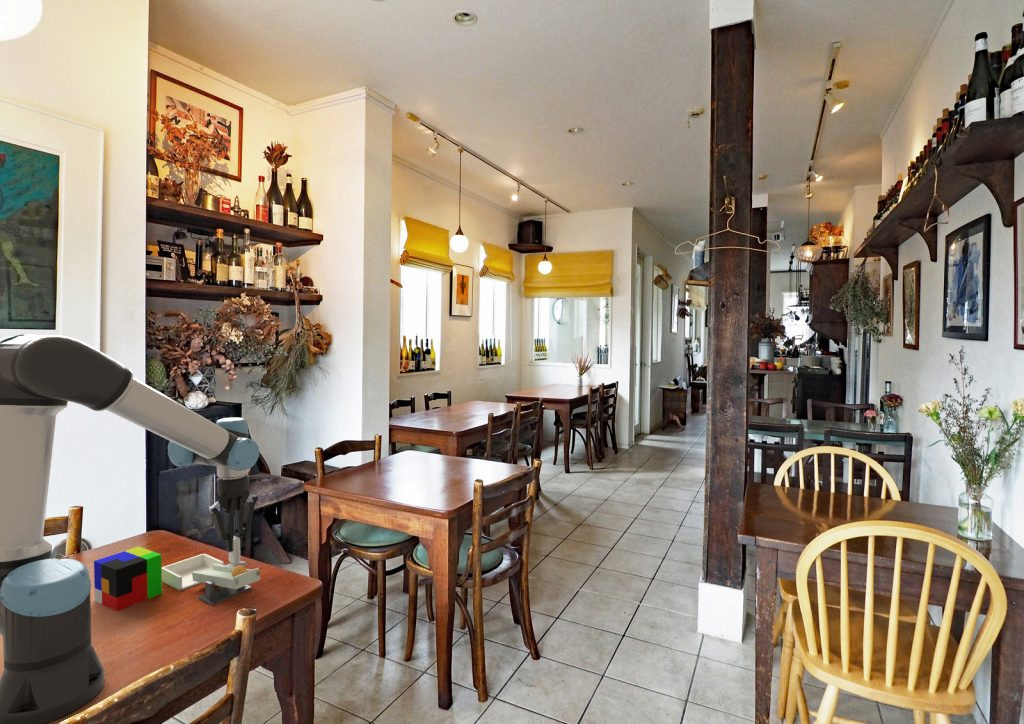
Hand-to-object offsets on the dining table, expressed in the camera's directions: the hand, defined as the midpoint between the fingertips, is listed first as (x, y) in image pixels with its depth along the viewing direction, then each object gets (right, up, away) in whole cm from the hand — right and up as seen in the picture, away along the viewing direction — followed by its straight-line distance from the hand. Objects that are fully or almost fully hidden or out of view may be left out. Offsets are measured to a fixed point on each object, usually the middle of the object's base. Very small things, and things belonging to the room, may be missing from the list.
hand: (234, 561), depth 143 cm
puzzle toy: (-19, -4, -13) cm, 24 cm away
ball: (+9, +3, -14) cm, 17 cm away
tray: (-10, -4, -2) cm, 11 cm away
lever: (+5, -1, -8) cm, 10 cm away
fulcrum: (+3, -4, -11) cm, 12 cm away
